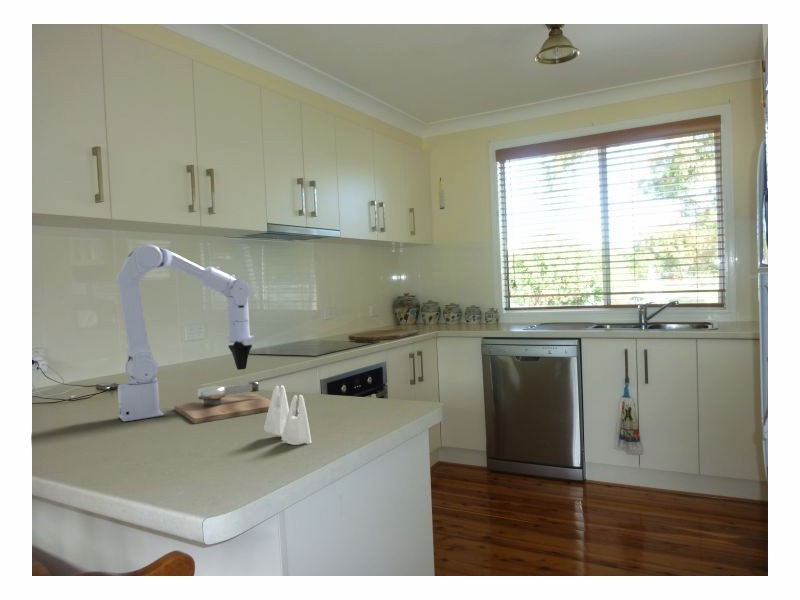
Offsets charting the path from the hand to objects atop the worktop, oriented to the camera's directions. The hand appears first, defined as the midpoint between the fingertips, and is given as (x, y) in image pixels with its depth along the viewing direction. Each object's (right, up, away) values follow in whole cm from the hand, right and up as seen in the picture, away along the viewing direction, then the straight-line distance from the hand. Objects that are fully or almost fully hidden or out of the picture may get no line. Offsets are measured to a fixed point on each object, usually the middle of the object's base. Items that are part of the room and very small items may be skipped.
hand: (241, 369), depth 160 cm
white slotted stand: (+22, -9, -45) cm, 51 cm away
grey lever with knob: (-1, -6, -7) cm, 10 cm away
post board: (-1, -9, -11) cm, 14 cm away
